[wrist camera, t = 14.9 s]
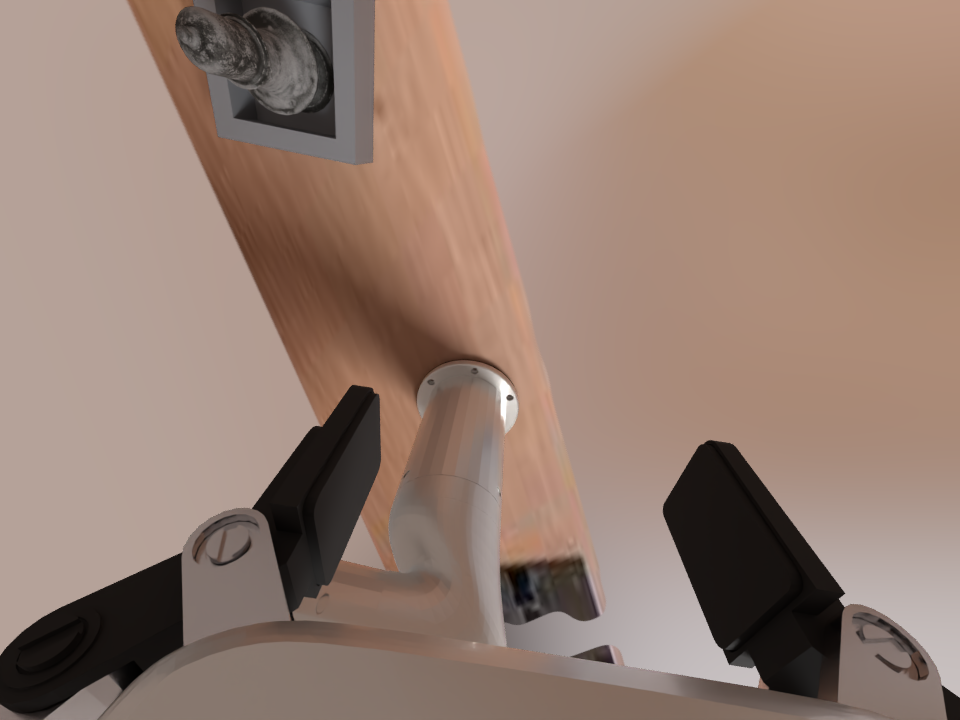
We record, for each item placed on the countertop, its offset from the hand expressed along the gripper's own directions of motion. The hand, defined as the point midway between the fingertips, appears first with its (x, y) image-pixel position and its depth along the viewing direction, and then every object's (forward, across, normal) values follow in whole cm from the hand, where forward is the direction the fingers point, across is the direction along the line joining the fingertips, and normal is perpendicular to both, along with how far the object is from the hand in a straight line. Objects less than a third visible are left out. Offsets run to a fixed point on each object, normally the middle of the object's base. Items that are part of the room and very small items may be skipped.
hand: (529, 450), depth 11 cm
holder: (+27, +19, -11) cm, 35 cm away
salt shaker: (+27, +19, -11) cm, 35 cm away
